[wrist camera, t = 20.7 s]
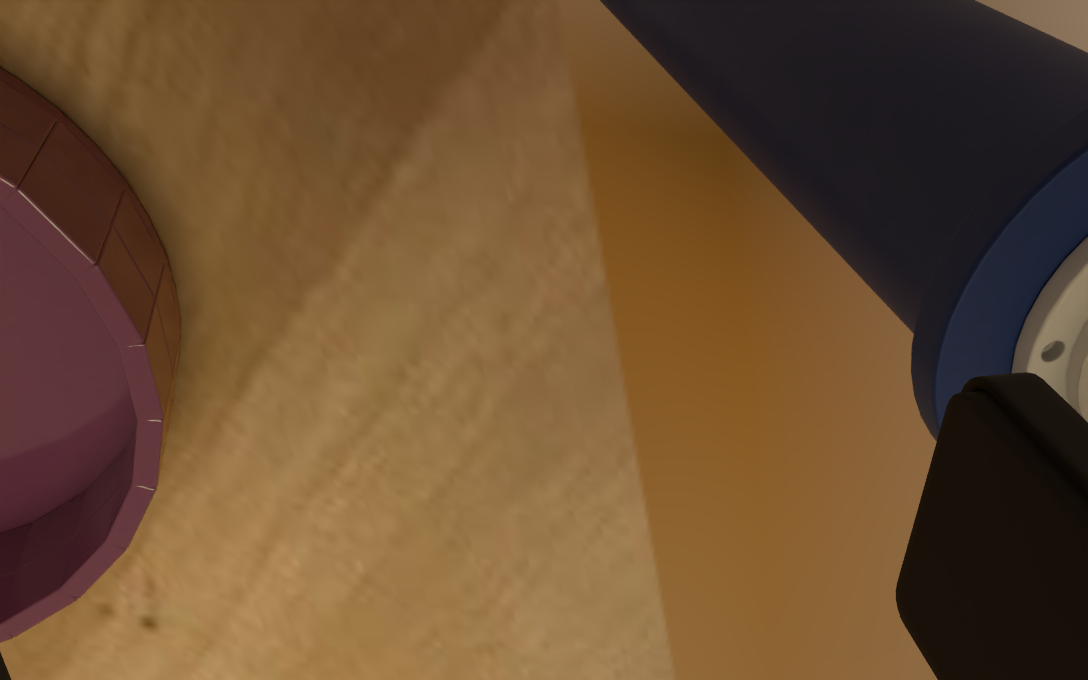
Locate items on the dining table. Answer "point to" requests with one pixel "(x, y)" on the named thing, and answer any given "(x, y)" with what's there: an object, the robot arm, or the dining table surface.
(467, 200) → the dining table surface
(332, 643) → the dining table surface
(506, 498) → the dining table surface
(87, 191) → the bowl
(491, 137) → the dining table surface
